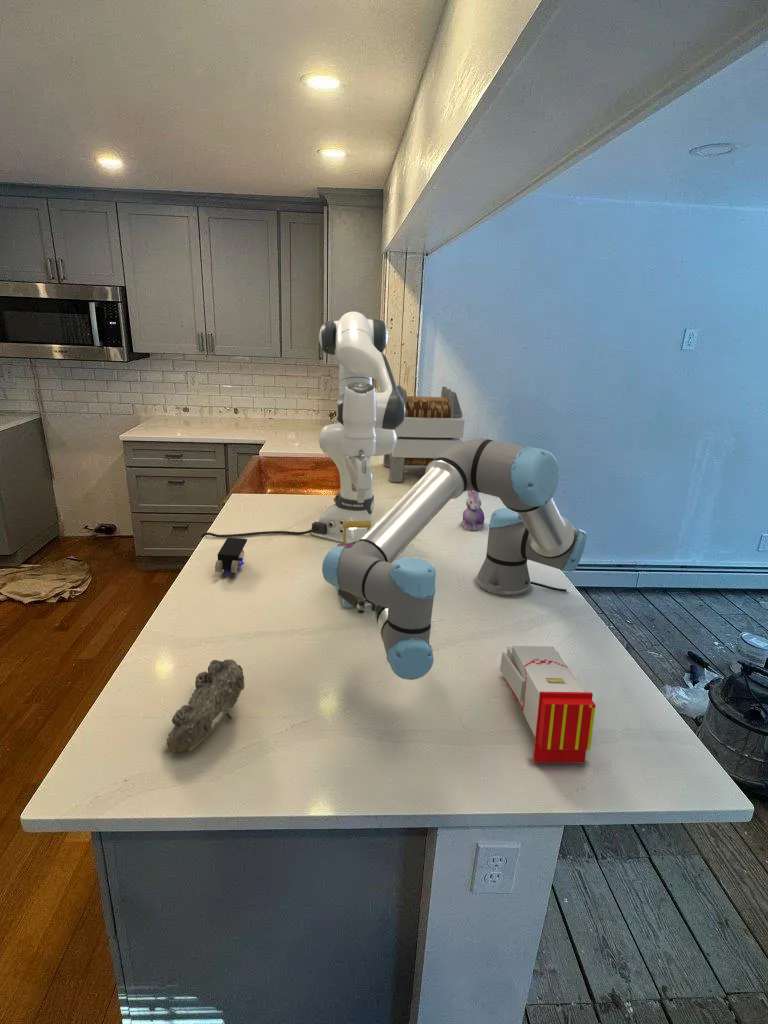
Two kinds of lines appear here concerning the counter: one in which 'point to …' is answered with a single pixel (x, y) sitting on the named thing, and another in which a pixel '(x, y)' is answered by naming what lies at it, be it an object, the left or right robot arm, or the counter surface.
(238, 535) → the left robot arm
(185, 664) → the counter surface
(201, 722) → the fossil
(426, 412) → the transformer
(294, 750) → the counter surface
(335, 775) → the counter surface
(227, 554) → the figurine character
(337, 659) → the counter surface
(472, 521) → the figurine
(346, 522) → the lid
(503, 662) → the toy
